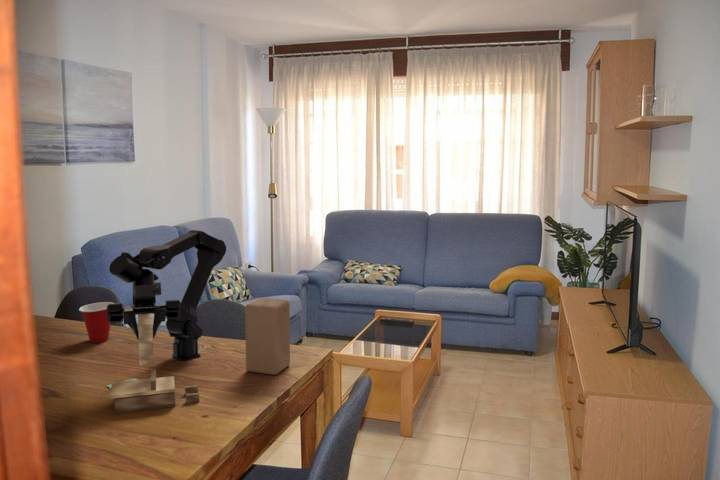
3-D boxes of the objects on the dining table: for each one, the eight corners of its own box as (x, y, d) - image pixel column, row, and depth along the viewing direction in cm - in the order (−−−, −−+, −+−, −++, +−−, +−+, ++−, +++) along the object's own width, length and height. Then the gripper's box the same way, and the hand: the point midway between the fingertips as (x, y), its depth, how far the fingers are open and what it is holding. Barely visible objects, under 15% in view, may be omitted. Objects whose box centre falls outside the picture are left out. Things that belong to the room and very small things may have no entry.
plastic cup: (84, 336, 208) (82, 302, 207) (117, 334, 211) (116, 300, 209) (77, 346, 198) (75, 310, 196) (113, 343, 200) (111, 308, 199)
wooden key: (153, 360, 165) (151, 313, 163) (153, 364, 162) (152, 316, 160) (139, 361, 164) (138, 314, 162) (139, 365, 161) (138, 317, 159)
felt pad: (135, 378, 170) (135, 377, 170) (148, 386, 164) (148, 385, 164) (106, 386, 164) (106, 385, 164) (119, 394, 159) (119, 393, 159)
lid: (174, 379, 160) (173, 367, 159) (174, 391, 151) (174, 379, 151) (112, 385, 155) (111, 373, 155) (109, 398, 147) (109, 386, 146)
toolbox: (197, 390, 162) (197, 377, 161) (199, 403, 154) (199, 390, 153) (117, 399, 156) (116, 386, 155) (114, 413, 147) (114, 399, 147)
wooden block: (291, 365, 182) (290, 299, 179) (276, 376, 173) (275, 307, 170) (261, 361, 185) (260, 296, 182) (244, 372, 176) (243, 304, 173)
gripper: (105, 273, 160) (105, 325, 151) (179, 270, 167) (184, 320, 158) (107, 296, 168) (107, 347, 160) (178, 293, 175) (182, 341, 166)
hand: (145, 338), depth 161 cm, fingers closed on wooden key, 3 cm apart
